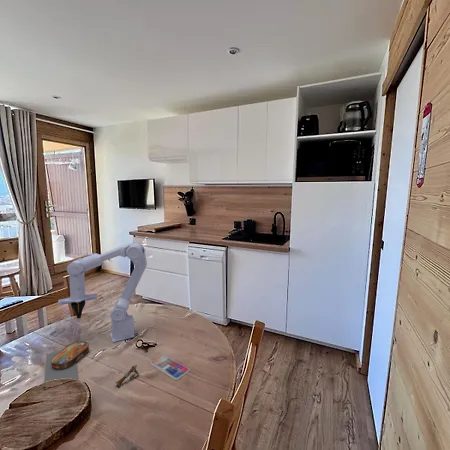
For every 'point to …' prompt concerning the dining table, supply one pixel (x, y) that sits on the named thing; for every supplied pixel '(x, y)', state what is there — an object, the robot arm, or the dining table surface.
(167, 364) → the smartphone
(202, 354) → the dining table surface
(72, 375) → the mat
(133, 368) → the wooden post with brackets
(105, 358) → the dining table surface
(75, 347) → the tin
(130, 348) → the dining table surface
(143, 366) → the dining table surface
